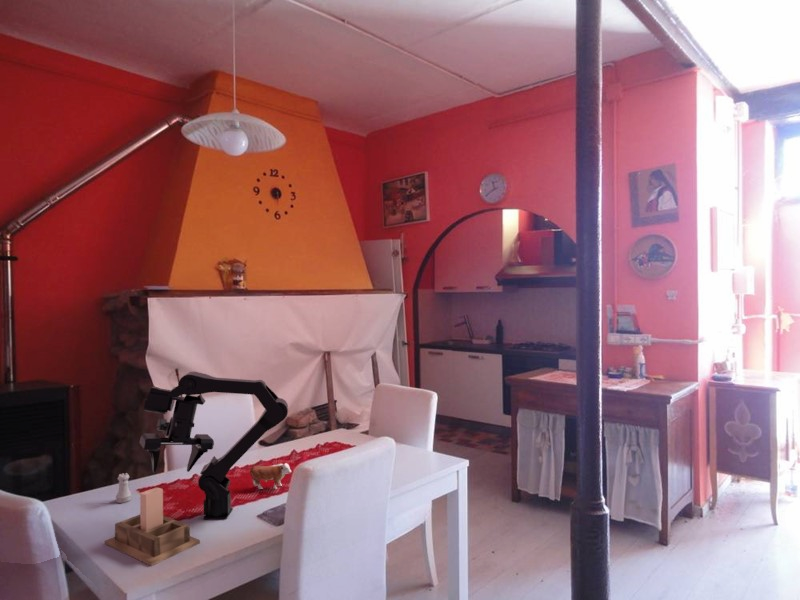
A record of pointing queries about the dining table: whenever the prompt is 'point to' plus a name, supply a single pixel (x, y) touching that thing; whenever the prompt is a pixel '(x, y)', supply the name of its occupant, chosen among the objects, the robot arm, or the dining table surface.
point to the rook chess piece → (123, 489)
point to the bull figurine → (269, 473)
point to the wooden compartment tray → (152, 539)
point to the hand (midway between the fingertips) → (171, 471)
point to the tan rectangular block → (151, 508)
